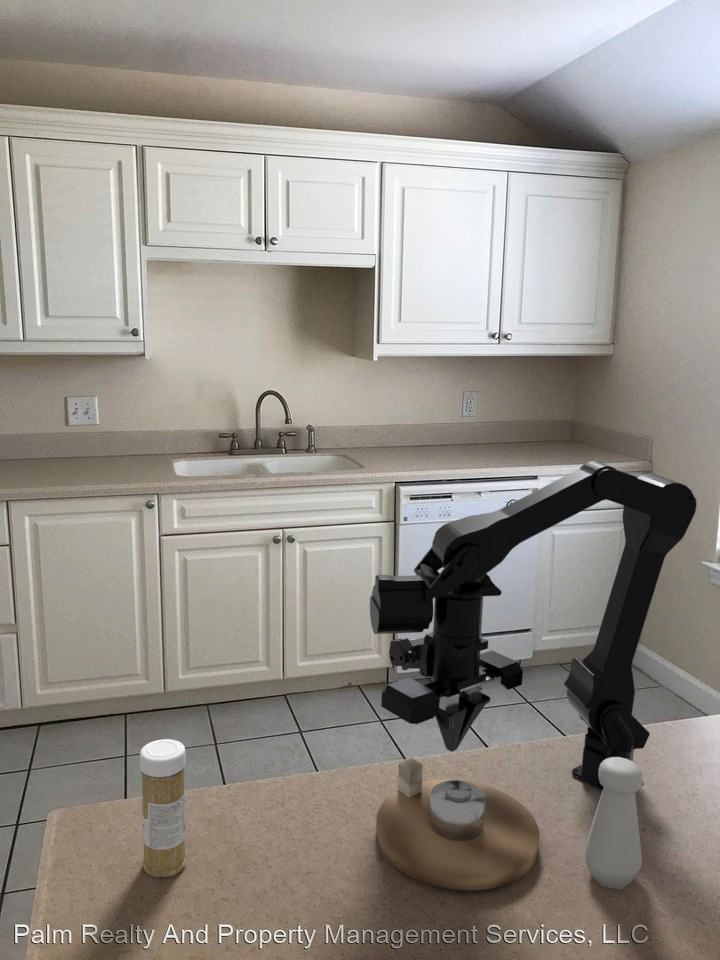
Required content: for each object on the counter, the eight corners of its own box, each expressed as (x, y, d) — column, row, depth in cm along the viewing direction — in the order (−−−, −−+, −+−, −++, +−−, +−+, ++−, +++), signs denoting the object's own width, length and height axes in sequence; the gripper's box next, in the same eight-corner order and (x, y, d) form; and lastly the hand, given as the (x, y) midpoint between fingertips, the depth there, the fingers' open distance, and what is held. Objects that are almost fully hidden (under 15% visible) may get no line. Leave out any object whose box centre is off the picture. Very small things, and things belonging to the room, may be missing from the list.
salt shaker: (628, 859, 91) (639, 749, 88) (648, 895, 85) (660, 779, 82) (575, 858, 90) (585, 749, 88) (591, 894, 85) (602, 779, 82)
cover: (456, 802, 97) (458, 767, 96) (494, 828, 92) (497, 791, 91) (418, 820, 93) (419, 783, 92) (455, 847, 88) (458, 809, 87)
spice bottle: (148, 851, 90) (146, 736, 87) (191, 852, 90) (189, 737, 87) (137, 879, 85) (134, 759, 82) (181, 880, 85) (180, 760, 82)
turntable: (457, 774, 105) (459, 738, 104) (572, 847, 91) (576, 806, 90) (343, 824, 94) (344, 784, 93) (455, 915, 80) (457, 869, 79)
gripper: (464, 596, 111) (458, 704, 114) (353, 625, 99) (350, 744, 102) (529, 621, 102) (521, 737, 105) (416, 655, 91) (410, 785, 94)
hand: (451, 749), depth 102 cm, fingers closed
